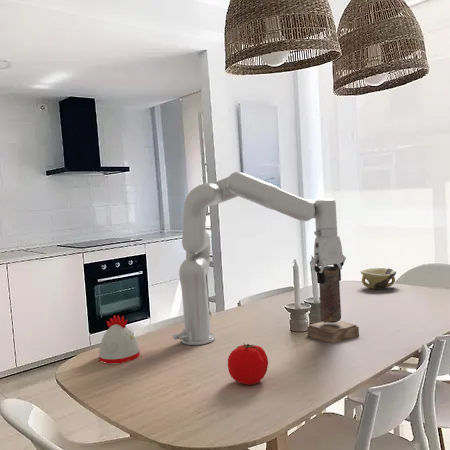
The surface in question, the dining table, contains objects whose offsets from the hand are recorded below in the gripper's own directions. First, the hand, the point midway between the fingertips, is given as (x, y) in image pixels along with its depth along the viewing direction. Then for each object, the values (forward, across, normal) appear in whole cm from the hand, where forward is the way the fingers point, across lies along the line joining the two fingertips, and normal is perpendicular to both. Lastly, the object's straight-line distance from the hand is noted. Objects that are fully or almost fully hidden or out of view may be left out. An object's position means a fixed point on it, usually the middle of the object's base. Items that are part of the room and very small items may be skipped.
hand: (329, 281), depth 178 cm
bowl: (+20, +73, +46) cm, 89 cm away
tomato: (+20, -47, -17) cm, 54 cm away
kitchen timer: (+21, -70, +32) cm, 79 cm away
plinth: (+20, 0, 0) cm, 20 cm away
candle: (+15, 0, 0) cm, 15 cm away
